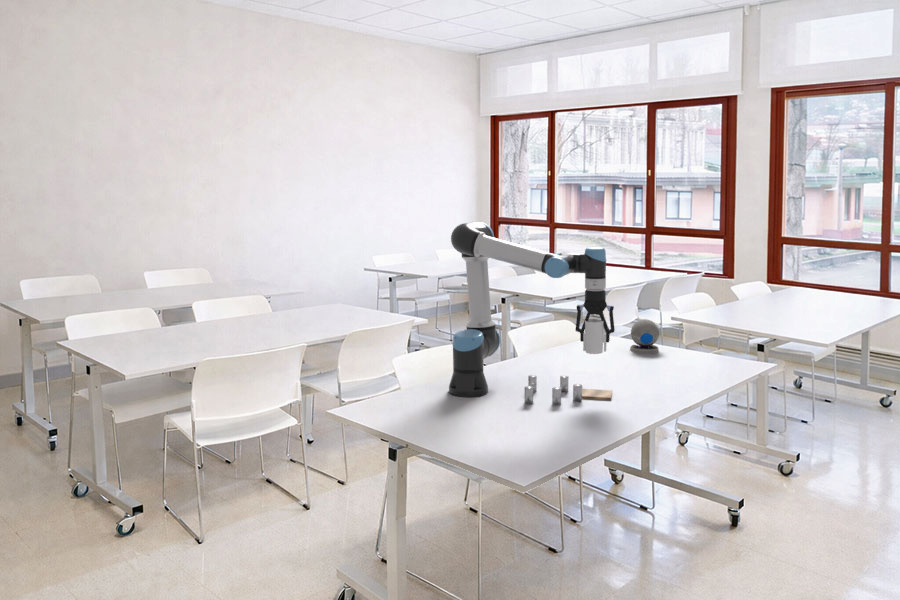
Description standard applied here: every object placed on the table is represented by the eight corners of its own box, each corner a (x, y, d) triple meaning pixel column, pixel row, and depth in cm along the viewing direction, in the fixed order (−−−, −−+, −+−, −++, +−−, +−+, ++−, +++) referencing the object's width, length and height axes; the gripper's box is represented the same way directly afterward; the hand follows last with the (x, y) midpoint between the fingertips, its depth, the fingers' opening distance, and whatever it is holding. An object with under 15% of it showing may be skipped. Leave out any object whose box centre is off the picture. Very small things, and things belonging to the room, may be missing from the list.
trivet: (578, 398, 279) (578, 395, 278) (580, 391, 288) (580, 388, 288) (610, 400, 276) (610, 397, 275) (612, 392, 285) (612, 390, 285)
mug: (595, 355, 273) (595, 322, 271) (581, 352, 278) (581, 320, 276) (612, 350, 279) (612, 319, 277) (598, 348, 284) (598, 317, 282)
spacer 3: (551, 405, 271) (551, 389, 270) (552, 402, 274) (552, 386, 273) (560, 405, 270) (560, 389, 269) (561, 403, 273) (561, 387, 272)
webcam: (655, 347, 360) (657, 317, 358) (660, 353, 348) (661, 322, 346) (628, 347, 362) (629, 317, 359) (632, 353, 349) (633, 322, 347)
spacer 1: (527, 392, 288) (527, 377, 287) (528, 389, 291) (528, 374, 290) (535, 392, 287) (536, 377, 286) (537, 390, 290) (537, 375, 289)
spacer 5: (572, 401, 275) (572, 385, 274) (573, 399, 278) (573, 383, 277) (581, 402, 274) (581, 386, 273) (582, 399, 277) (582, 384, 276)
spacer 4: (559, 392, 287) (559, 377, 286) (560, 390, 290) (560, 375, 289) (567, 393, 286) (568, 377, 285) (568, 390, 289) (568, 375, 288)
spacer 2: (523, 404, 272) (523, 388, 271) (525, 401, 275) (525, 386, 274) (532, 404, 271) (532, 388, 270) (533, 402, 274) (533, 386, 273)
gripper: (567, 290, 274) (567, 351, 278) (622, 291, 269) (621, 353, 273) (569, 287, 281) (569, 347, 285) (623, 288, 276) (622, 349, 280)
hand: (594, 350), depth 279 cm, fingers closed on mug, 7 cm apart
